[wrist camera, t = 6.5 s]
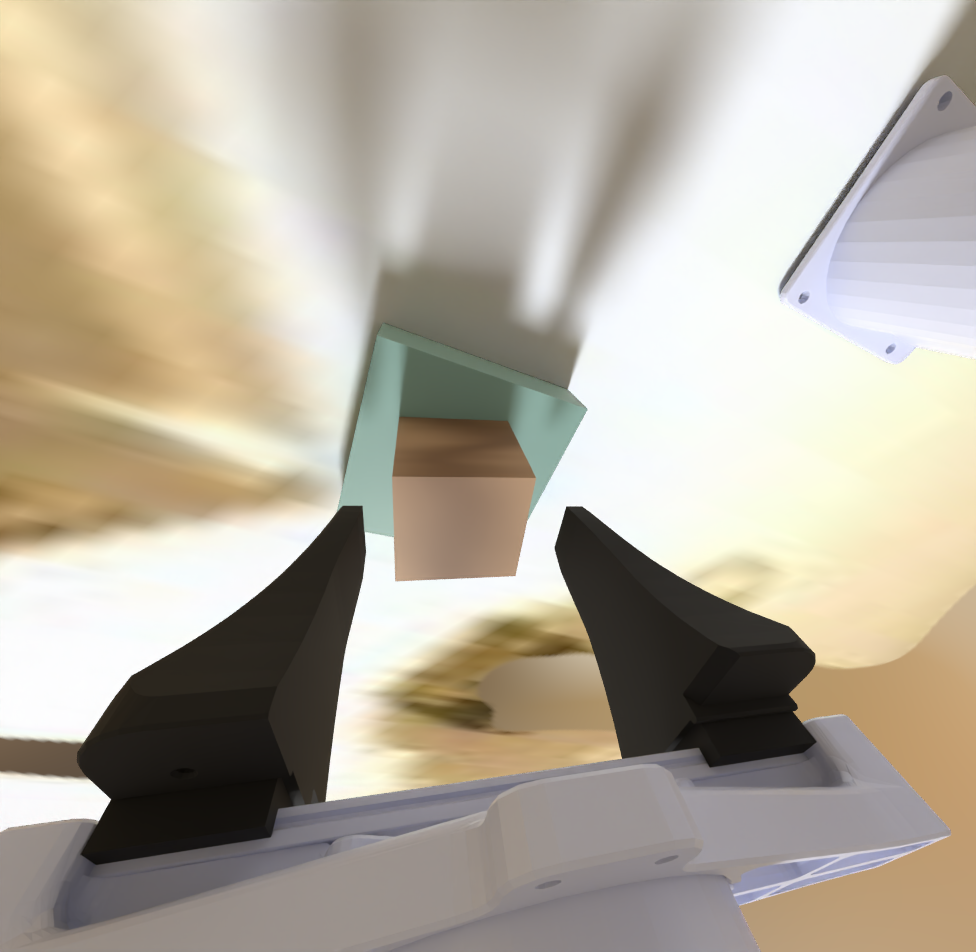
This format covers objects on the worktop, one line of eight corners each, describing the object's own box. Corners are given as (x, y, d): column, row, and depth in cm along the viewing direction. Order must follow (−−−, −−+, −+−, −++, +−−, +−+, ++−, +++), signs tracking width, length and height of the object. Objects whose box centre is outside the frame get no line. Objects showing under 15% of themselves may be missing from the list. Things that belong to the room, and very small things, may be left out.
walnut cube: (507, 420, 15) (536, 477, 12) (495, 505, 18) (515, 575, 14) (399, 416, 15) (392, 476, 11) (400, 506, 17) (395, 581, 13)
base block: (564, 386, 18) (587, 409, 16) (497, 522, 22) (507, 557, 20) (383, 320, 15) (376, 335, 13) (344, 490, 19) (333, 526, 17)
